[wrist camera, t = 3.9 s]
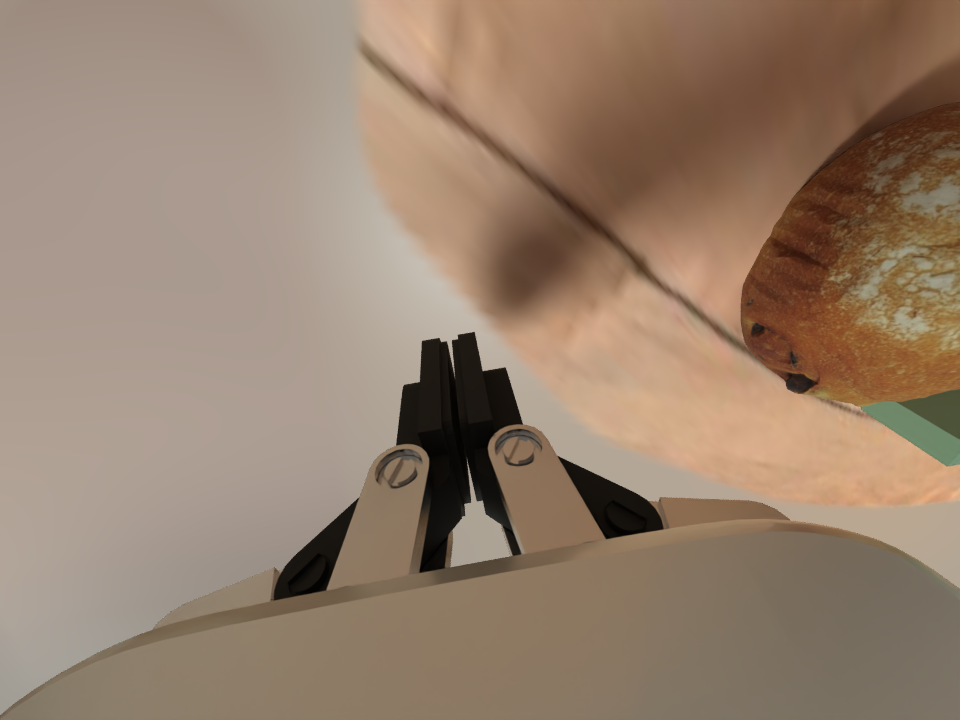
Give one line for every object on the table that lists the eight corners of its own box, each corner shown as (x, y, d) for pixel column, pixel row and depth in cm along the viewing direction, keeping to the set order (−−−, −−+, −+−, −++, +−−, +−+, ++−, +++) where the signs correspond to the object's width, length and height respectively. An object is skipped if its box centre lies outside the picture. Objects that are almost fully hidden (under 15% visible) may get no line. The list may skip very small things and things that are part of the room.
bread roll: (895, 214, 17) (1296, 146, 10) (817, 408, 18) (1133, 486, 10) (762, 119, 14) (1191, -85, 7) (675, 357, 15) (974, 414, 7)
